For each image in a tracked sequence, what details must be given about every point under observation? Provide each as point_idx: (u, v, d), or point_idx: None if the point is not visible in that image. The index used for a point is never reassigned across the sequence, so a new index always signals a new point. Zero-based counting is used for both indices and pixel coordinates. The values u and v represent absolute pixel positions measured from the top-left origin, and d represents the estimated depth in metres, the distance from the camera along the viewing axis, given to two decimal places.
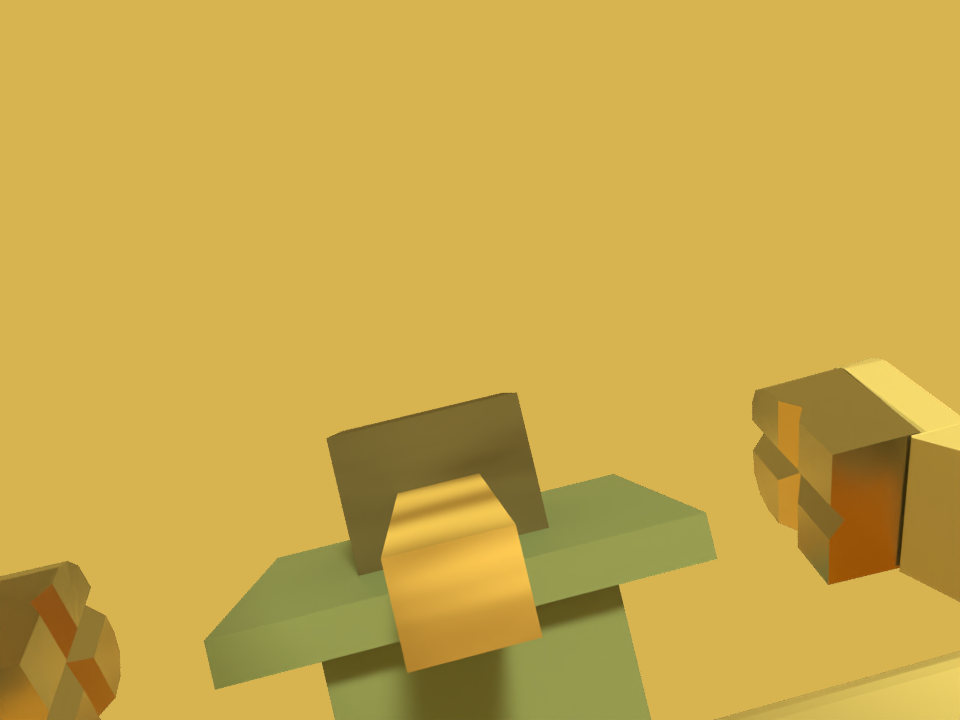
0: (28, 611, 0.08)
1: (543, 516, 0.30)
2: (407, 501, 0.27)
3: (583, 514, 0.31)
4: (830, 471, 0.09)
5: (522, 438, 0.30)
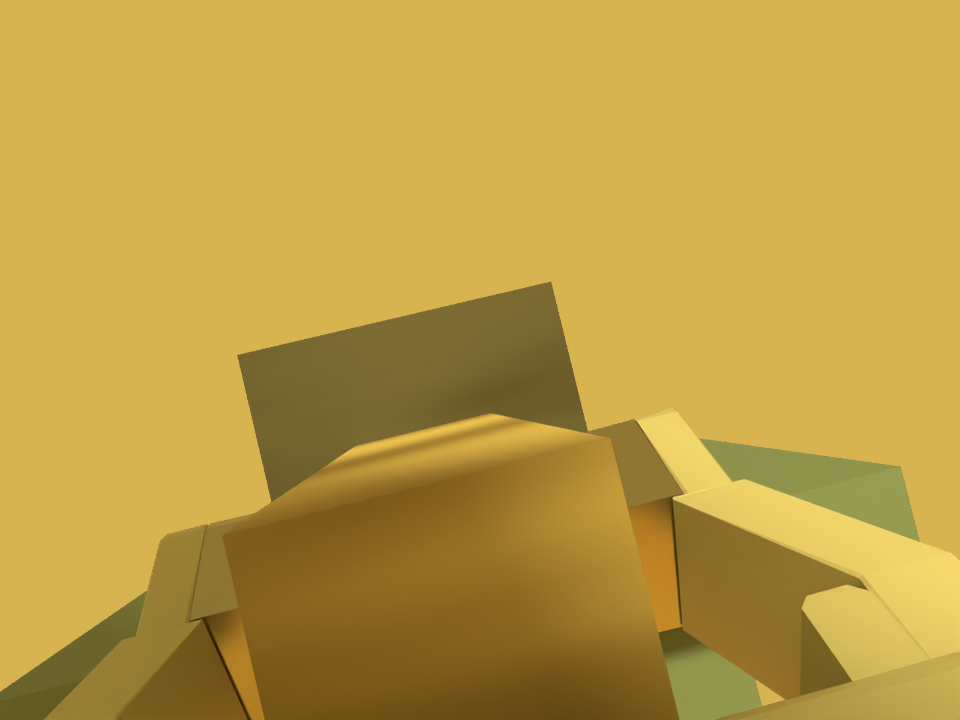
0: None
1: None
2: (364, 449, 0.15)
3: None
4: None
5: (560, 356, 0.19)
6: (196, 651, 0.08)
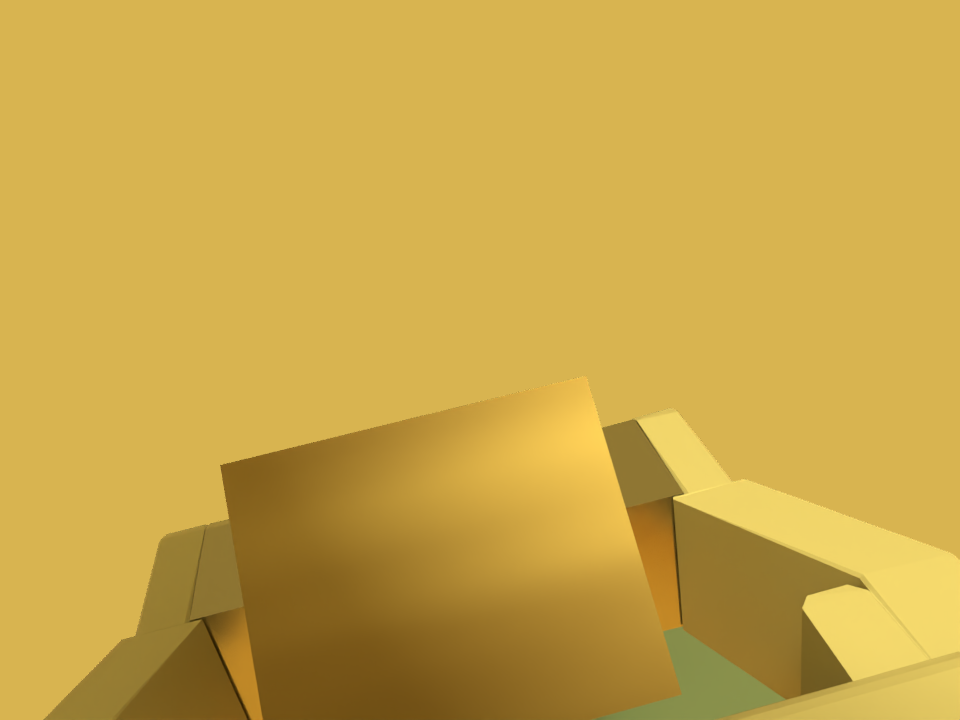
0: None
1: None
2: None
3: (694, 646, 0.20)
4: None
5: None
6: (196, 651, 0.08)
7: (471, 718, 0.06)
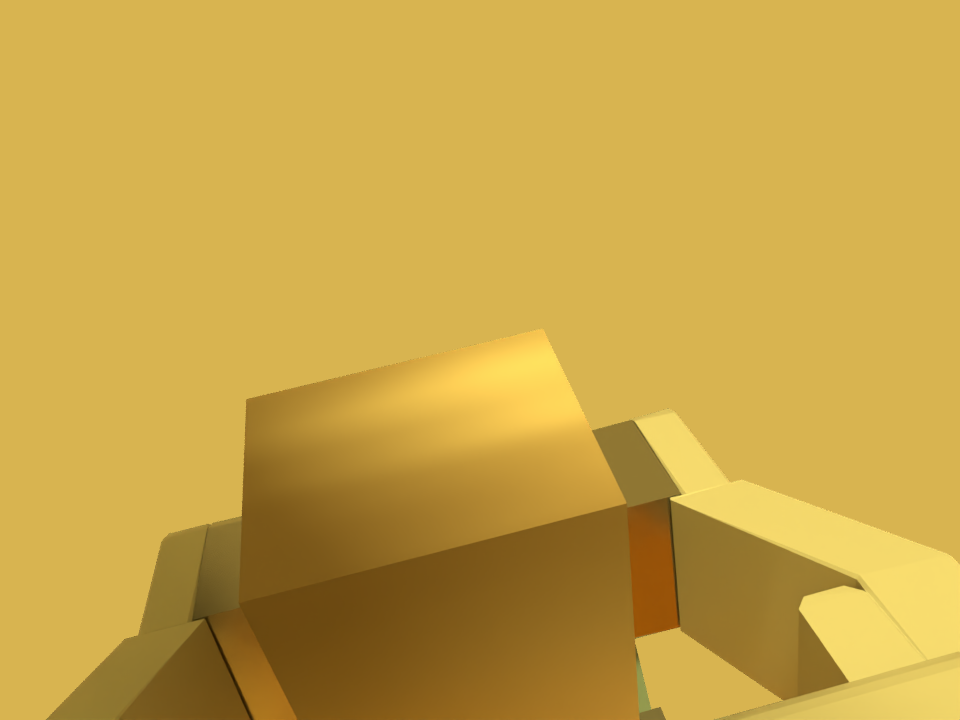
0: None
1: None
2: None
3: None
4: None
5: None
6: (199, 650, 0.08)
7: (427, 529, 0.07)
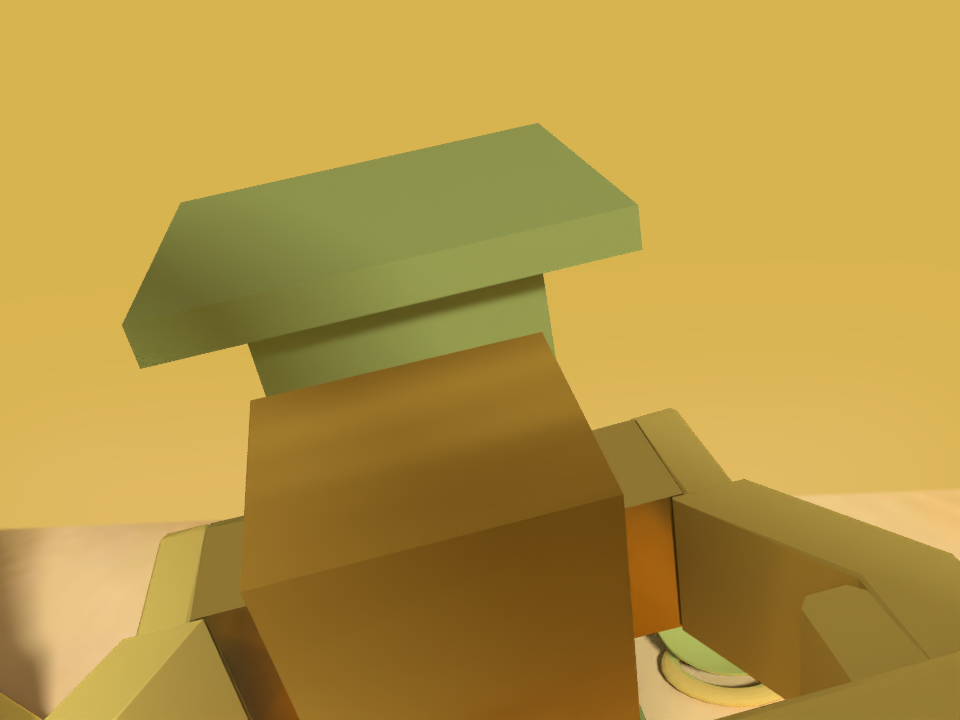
0: None
1: None
2: None
3: (509, 185, 0.30)
4: None
5: None
6: (197, 651, 0.08)
7: (426, 521, 0.07)
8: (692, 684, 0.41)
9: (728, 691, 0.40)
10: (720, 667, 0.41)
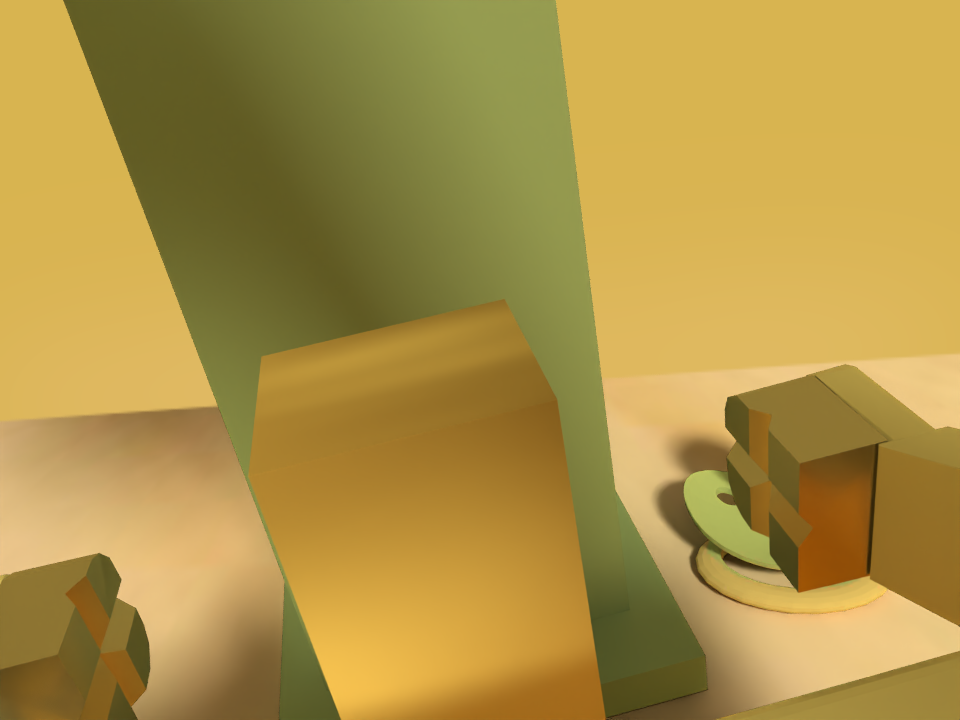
0: (63, 602, 0.08)
1: None
2: None
3: None
4: (798, 479, 0.09)
5: None
6: None
7: (398, 424, 0.08)
8: (742, 585, 0.29)
9: (795, 592, 0.28)
10: None
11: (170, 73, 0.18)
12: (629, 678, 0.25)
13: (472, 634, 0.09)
